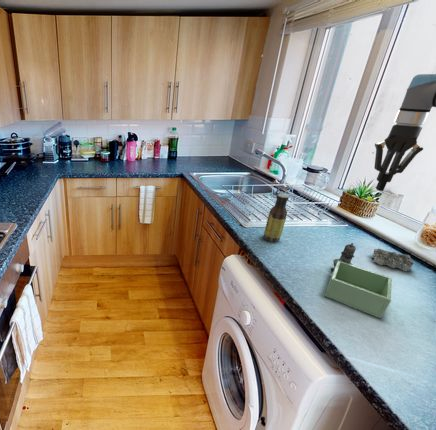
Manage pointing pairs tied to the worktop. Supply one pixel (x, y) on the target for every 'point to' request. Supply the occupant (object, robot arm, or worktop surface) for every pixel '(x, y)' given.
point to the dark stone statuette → (346, 255)
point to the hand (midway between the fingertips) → (379, 189)
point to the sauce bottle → (276, 219)
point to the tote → (360, 288)
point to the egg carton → (392, 259)
